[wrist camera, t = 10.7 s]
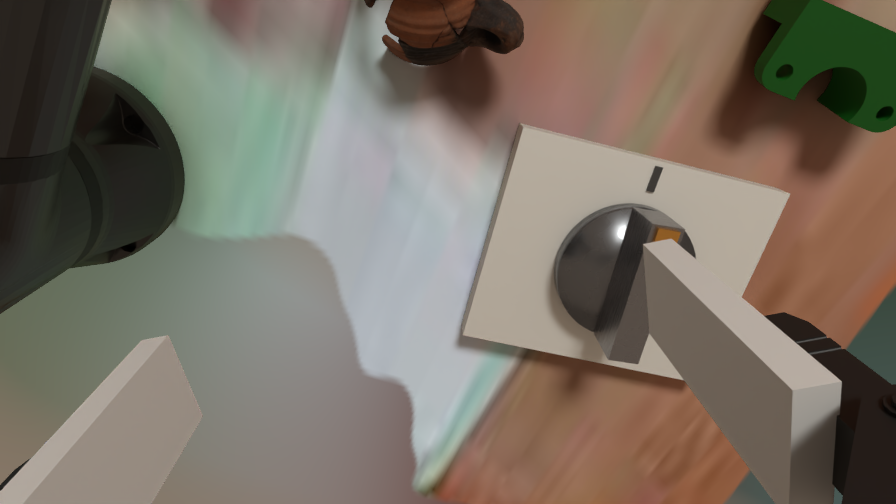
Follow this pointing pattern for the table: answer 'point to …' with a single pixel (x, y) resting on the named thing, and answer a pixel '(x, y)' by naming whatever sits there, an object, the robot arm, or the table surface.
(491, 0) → the pottery mug
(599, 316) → the dial
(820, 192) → the table surface
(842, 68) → the clamp
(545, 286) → the dial board
